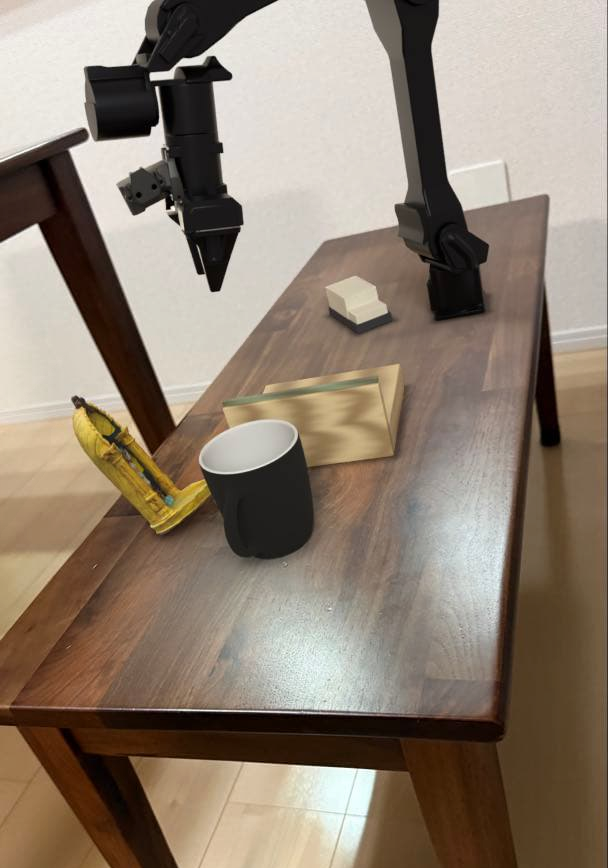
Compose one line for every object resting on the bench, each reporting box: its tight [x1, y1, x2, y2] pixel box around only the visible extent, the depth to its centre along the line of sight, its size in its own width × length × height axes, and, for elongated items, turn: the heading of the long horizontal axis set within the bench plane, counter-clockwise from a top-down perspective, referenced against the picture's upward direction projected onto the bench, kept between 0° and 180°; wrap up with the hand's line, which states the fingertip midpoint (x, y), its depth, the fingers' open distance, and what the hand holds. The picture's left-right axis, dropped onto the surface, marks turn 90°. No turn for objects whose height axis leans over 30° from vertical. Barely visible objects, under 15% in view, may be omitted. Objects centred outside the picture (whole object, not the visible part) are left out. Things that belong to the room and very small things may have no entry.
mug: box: [198, 419, 315, 560], centre depth 74 cm, size 12×9×10 cm
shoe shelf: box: [221, 363, 405, 468], centre depth 91 cm, size 16×15×9 cm
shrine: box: [70, 394, 212, 536], centre depth 81 cm, size 12×8×15 cm
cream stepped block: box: [325, 275, 393, 335], centre depth 117 cm, size 5×10×4 cm, turn 20°
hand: (208, 282), depth 97 cm, fingers open, 9 cm apart
